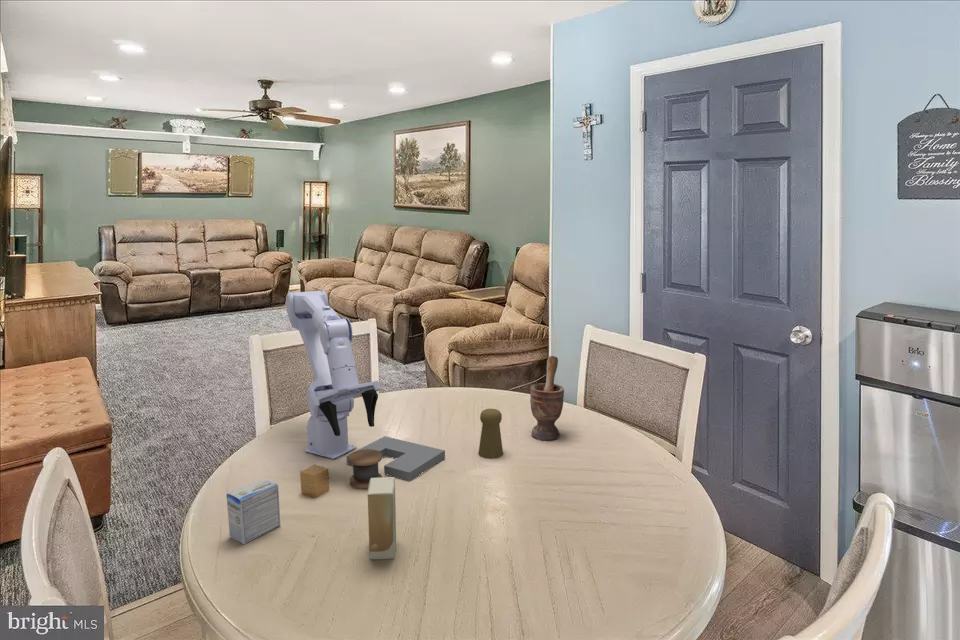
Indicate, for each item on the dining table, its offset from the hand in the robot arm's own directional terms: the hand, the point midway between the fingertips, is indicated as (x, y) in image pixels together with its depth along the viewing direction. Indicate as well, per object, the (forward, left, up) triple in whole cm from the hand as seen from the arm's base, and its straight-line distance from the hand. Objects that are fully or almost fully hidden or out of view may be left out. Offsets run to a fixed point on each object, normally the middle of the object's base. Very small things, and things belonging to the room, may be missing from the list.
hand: (354, 430), depth 130 cm
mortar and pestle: (+25, +46, -11) cm, 53 cm away
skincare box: (+23, -19, -11) cm, 32 cm away
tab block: (-3, -9, -11) cm, 15 cm away
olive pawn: (+19, +27, -11) cm, 35 cm away
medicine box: (-1, -26, -11) cm, 28 cm away
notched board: (+2, +12, -11) cm, 16 cm away
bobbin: (+3, 0, -11) cm, 11 cm away
